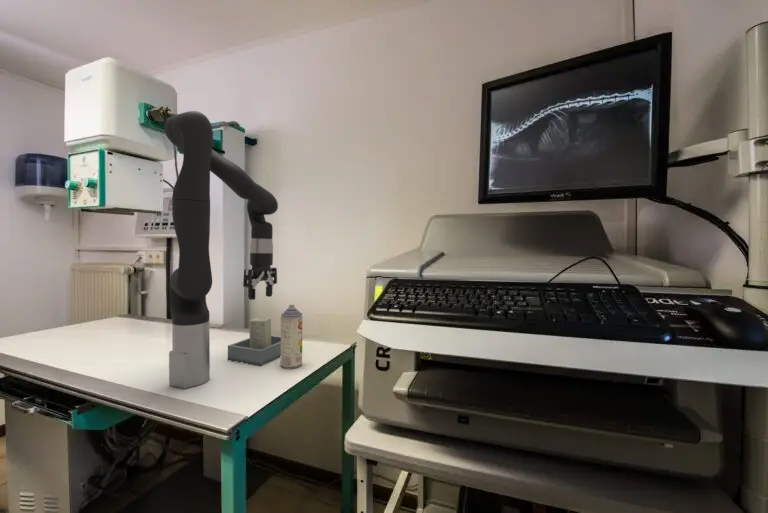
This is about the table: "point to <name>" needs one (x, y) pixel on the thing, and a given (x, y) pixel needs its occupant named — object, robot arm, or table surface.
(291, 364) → the aerosol can
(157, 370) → the table surface
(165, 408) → the table surface
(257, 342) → the skincare box
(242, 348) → the tote
